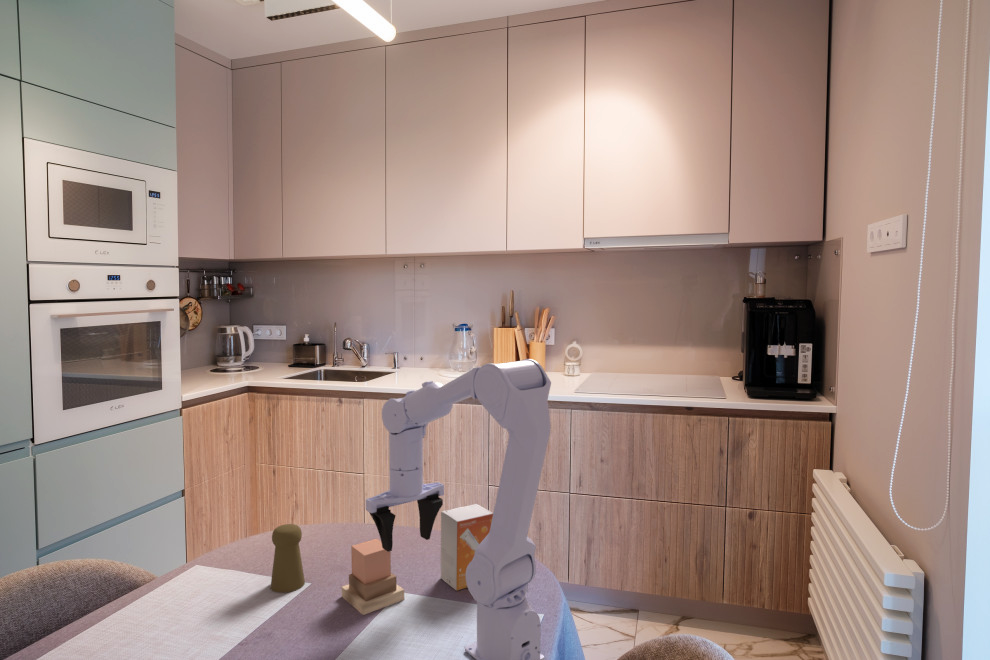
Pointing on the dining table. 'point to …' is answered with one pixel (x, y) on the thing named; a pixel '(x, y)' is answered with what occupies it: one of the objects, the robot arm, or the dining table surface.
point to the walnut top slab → (372, 587)
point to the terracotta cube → (370, 561)
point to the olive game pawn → (287, 559)
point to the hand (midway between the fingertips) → (406, 543)
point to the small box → (461, 541)
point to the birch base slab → (374, 603)
